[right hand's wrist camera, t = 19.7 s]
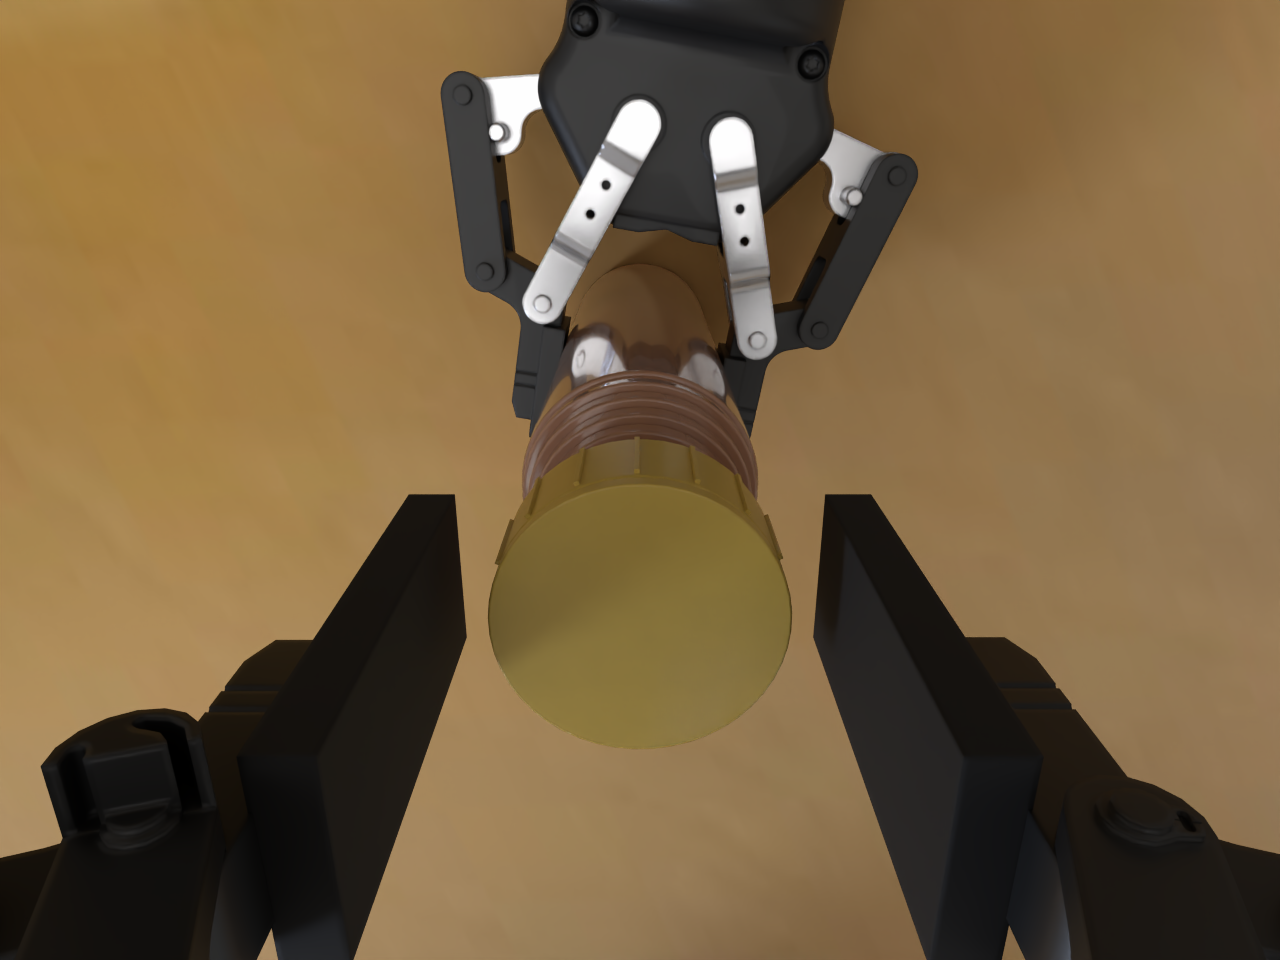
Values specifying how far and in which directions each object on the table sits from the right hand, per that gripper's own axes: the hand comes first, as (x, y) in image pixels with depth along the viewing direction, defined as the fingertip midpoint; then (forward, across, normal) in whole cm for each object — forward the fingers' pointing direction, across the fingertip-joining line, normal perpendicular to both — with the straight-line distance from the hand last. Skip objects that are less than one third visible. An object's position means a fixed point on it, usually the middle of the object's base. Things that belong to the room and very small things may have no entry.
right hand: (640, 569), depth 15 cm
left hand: (+14, 0, -2) cm, 14 cm away
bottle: (+20, 0, 0) cm, 20 cm away
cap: (-2, 0, 0) cm, 2 cm away
